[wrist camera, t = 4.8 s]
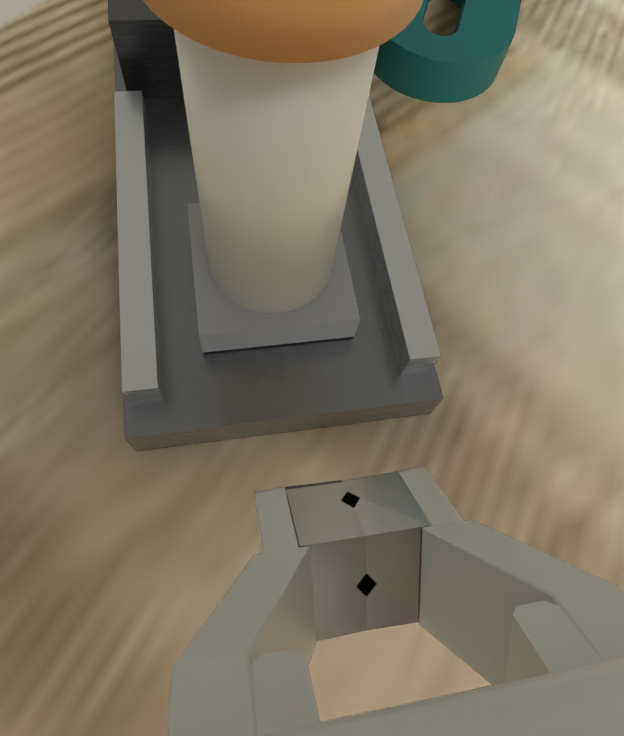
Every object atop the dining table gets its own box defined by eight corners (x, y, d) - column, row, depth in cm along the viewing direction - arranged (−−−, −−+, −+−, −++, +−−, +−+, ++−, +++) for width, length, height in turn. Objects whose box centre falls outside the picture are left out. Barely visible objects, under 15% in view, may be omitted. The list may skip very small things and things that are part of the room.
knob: (357, 338, 18) (499, -50, 7) (199, 355, 17) (104, -49, 7) (331, 214, 20) (412, -235, 9) (188, 224, 19) (100, -250, 9)
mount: (430, 413, 19) (479, 357, 15) (135, 451, 18) (95, 401, 13) (335, 43, 26) (350, -67, 22) (121, 48, 25) (92, -68, 21)
